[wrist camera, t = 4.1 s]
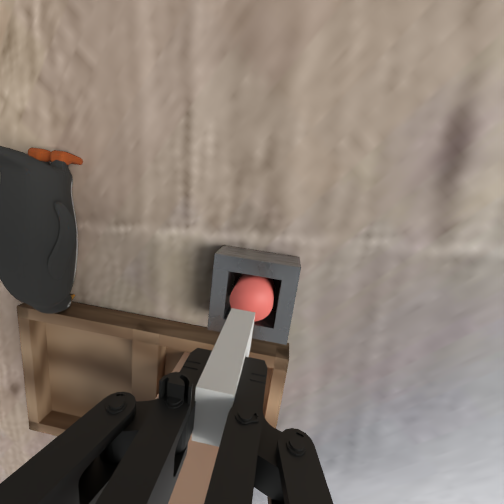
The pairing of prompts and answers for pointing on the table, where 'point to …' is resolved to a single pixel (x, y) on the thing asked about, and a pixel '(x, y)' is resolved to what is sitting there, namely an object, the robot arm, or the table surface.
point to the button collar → (257, 265)
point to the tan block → (193, 466)
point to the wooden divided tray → (114, 360)
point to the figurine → (38, 227)
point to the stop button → (253, 295)
